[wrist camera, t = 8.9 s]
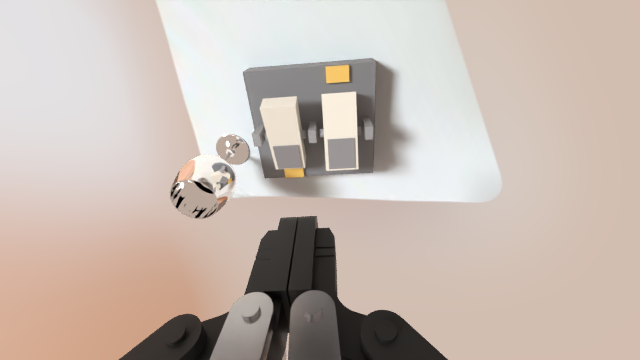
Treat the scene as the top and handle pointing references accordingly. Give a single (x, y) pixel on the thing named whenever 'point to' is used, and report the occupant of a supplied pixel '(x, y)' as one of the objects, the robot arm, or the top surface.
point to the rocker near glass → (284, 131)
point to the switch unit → (314, 108)
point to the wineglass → (209, 179)
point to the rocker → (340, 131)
